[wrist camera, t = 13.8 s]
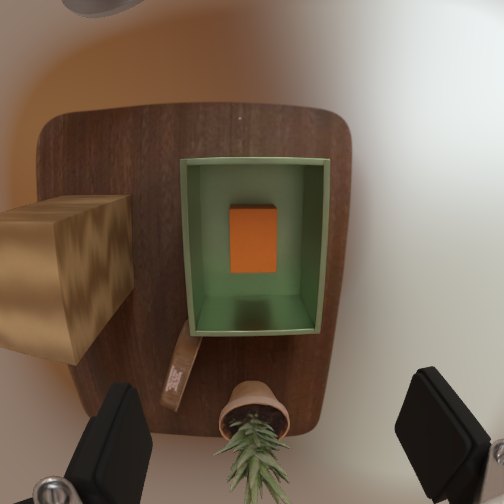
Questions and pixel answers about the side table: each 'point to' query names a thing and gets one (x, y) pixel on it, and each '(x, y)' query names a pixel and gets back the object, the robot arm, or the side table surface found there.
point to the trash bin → (288, 245)
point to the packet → (253, 238)
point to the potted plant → (255, 438)
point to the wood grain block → (63, 273)
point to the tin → (179, 368)
